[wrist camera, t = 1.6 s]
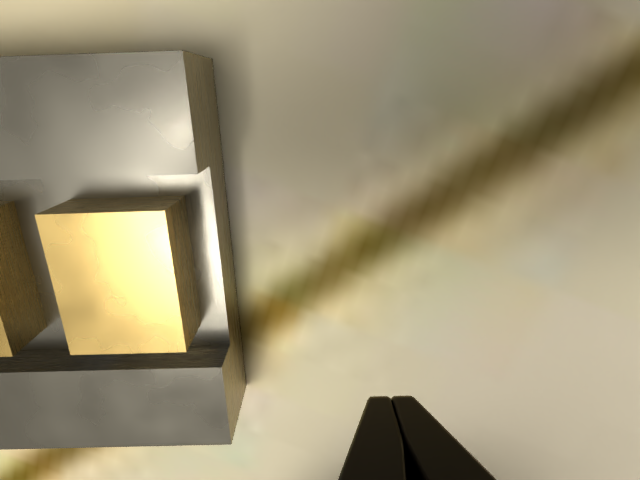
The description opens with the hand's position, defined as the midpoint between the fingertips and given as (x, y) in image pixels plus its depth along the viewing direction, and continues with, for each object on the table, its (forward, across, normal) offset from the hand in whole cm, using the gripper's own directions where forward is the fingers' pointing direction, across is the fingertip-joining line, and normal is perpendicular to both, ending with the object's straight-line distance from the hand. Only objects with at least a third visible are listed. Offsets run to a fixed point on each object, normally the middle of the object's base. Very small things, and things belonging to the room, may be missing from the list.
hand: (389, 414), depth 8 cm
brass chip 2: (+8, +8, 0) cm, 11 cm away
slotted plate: (+10, +12, 0) cm, 16 cm away
